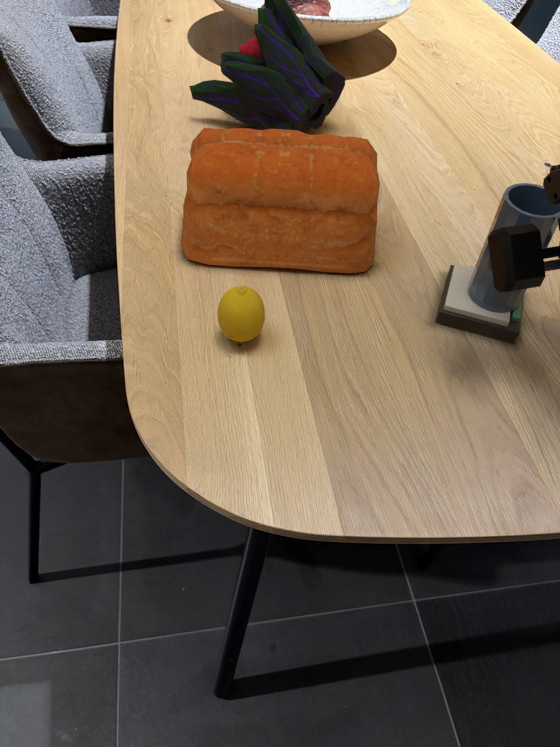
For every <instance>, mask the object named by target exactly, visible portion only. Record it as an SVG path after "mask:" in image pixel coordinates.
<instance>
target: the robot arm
mask: <svg viewBox="0 0 560 747" xmlns="http://www.w3.org/2000/svg"><path fill="white" fill-rule="evenodd" d="M542 186H543V187H544V189H545V191H546V194H547V196H548V199H549V201H550V203H551V204H560V163H559V164H555V165H552V166H550V168H549V173H548V174H546V175H545V177H544V178H543V182H542ZM557 227H558V231H559V232H560V218H558V226H557ZM488 244H489V252H490V259H489V260H488V267H489V270H490V271H491V272H492V275H493V282H494V288H495V289H496V290H497V291H498V292H500V293H502V292H510V291H516V290H522V289H527V290H528V289H533V288H540V287H541V286H542V285H543V282H544V281H545V279H546V275H547V274H546V272H550V271H556V270H557V271H558V270H560V242H559V245H555V246H550V247H547V248H542V242H541V234H540V230H539V229H538V228H537V227H536V226H535V225H534V224H533V223H529V224H522V225H515V226H509V227H502V228H499V229H496V230H492V231H491V233H490V234H489V236H488ZM552 258H557V259H552ZM547 259H551V260H547Z"/></svg>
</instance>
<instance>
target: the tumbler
mask: <svg viewBox="0 0 560 747" xmlns="http://www.w3.org/2000/svg"><path fill="white" fill-rule="evenodd" d="M558 218H560V204H551V203H550V201H549V199H548V196H547V194H546V191H545V189H544V186H543V185H540V184H538V183H537V184H536V183H528V182H521V183H514V184H512V185H509V186H508V187H506V189H505V190H504V192H503V194H502V197H501V199H500V202H499V204H498V207H497V210H496V212H495V214H494V218H493V220H492V222H491V224H490V228H489V230H488V233H487V235H486V238H485V240H484V243H483V246H482V248H481V251H480V252H479V256H478V258H477V262H476V264H475V266H474V268H475V269H474V271H473V274H472V276H471V279H470V281H469V285H468V295H469V297H470V298H471V300H472V301H473V302H474V303H475V304H477V305H478V306H480V307H481V308H483V309H486V310H488V311H492V312H498V313H504V312H510V311H512V310H514V309H516V308H517V307H518V306H519V304H520V302H521V300H522V298H523V296H524V297H525V294H526V292H527V290H528V289H522V290H516V291H510V292H502V293H500V292H498V291H497V290H496V289H495V288H494V282H493V275H492V272H491V271H490V270H489V267H488V260H489V259H490V252H489V244H488V236H489V234H490V233H491V231H492V230H496V229H499V228H502V227H509V226H515V225H522V224H529V223H533V224H534V225H535V226H536V227H537V228H538V229H539V230H540V234H541V242H542V248H549V247H548V246H549V245H550V243H551V241H552V238H553V237H554V234H555V232H556V231H557V229H558V227H559V226H558Z"/></svg>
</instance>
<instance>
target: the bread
mask: <svg viewBox="0 0 560 747" xmlns="http://www.w3.org/2000/svg"><path fill="white" fill-rule="evenodd" d="M189 155H190V162H189V164H188V166H187V170H186V192H185V197H184V201H183V205H182V212H183V213H182V216H183V217H182V225H181V226H182V227H181V239H180V243H181V248H182V251H183V254H184V255H185V257H186V260H188V261H192V262H197V263H201V264H204V265H212V266H224V267H243V268H244V267H248V268H251V267H254V268H257V267H258V268H277V269H291V270H305V271H313V272H324V273H341V274H342V273H344V274H356V273H357V274H358V273H364V272H367V271H368V270H369V269H370V268H372V266H373V265H374V264H375V257H376V237H377V226H378V204H379V203H378V202H379V194H380V187H381V182H380V177H379V173H378V152H377V151H376V150H375V148H374V146H373V145H372V144H371V141H370V140H369V139H368V138H363V137H357V136H341V135H338V134H337V135H336V134H333V133H332V134H331V133H319V134H318V133H317V134H309V133H307V132H306V133H303V132H301V131H298V130H284V129H266V130H259V129H257V128H248V127H247V128H245V127H244V128H243V127H231V128H214V127H203V128H202V129H201V130H200V132H199V133H198V134H197V135H196V136H195V137H194V139H192V141H191V144H190V150H189Z"/></svg>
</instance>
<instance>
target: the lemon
mask: <svg viewBox="0 0 560 747" xmlns="http://www.w3.org/2000/svg"><path fill="white" fill-rule="evenodd" d="M217 307H218V308H217V322H218V326H219V328H220V330H221V332H222V333H223V334H224V335H225V337H226V338H228V339H230V340H231V341H233V342H238V343H239V342H240V343H244V342H249V341H251V340H253V339H255V338H256V337H257V336H258V335H259V334H260V332H262V329H263V327H264V324H265V321H266V309H265V305H264V301H263V298H262V296H260V294H259V293H258V291H257V290H256V289H253V288H252V287H249V286H246V285H237V286H234V287H231V288H229V289H228V290H226V291H225V292H224V293H223V295H222V296H221V298H220V300H219V302H218V306H217Z"/></svg>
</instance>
